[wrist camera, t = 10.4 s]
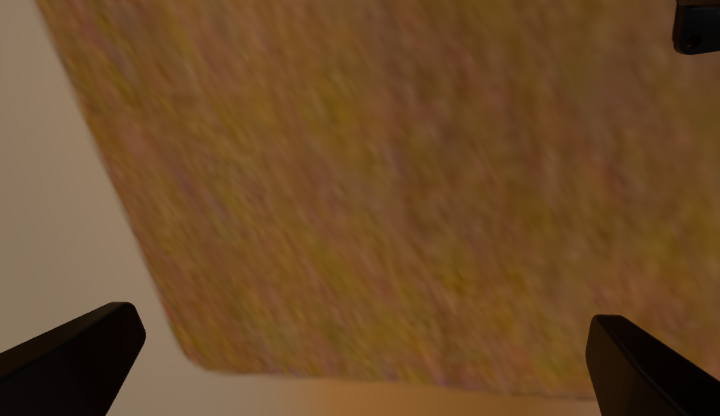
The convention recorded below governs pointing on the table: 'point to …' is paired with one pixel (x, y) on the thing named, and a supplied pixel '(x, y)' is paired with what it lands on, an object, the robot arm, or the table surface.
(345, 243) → the table surface
